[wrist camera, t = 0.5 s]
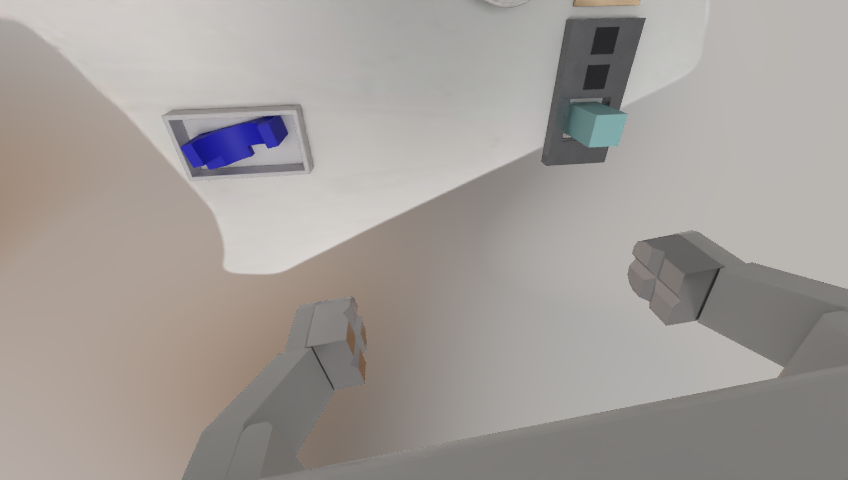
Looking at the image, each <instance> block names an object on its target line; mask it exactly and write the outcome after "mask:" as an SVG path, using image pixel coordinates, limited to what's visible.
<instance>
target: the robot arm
mask: <svg viewBox="0 0 848 480" xmlns="http://www.w3.org/2000/svg"><path fill="white" fill-rule="evenodd" d="M632 254H633V255H634V256H635V258H636V259H635V260H634V261H633V262H632V263H631V264H630V266H629V270H628V279H629V283H630V285H631V287H632V289H633V291H634V292H635V293H636V294H637V295H638V296H639V297H641V298H643V299H645V300H648V301H650V307H649V308H650V309H651V310H652V311H653V312H654V313H655V314H656V315H657V316H658V317H659V318H660V320H661V321H662V322H663V323H664V324H665V325H673V324H679V323H684V322H691V321H696V320H698V322H699V323H700V324H702V325H704V326H706V327H708V328H710V329H712V330H714V331H716V332H718V333H720V334H721V335H723V336H725V337H727V338H729V339H731V340H733V341H735V342H737V343H739V344H741V345H742V346H744V347H746V348H748V349H750V350H752V351H754V352H756V353H758V354H760V355H762V356H763V357H766V358H767V359H769V360H771V361H773V362H775V363H777V364H779V365H781V366H783V367H785V368H784V369H783V370H782V372H781V373H780V375H779V376H778V377H777V378H775V379H770V380H764V381H759V382H754V383H749V384H744V385H739V386H733V387H728V388H723V389H718V390H713V391H708V392H703V393H698V394H693V395H687V396H682V397H678V398H672V399H667V400H662V401H657V402H652V403H647V404H641V405H637V406H632V407H626V408H621V409H616V410H611V411H606V412H600V413H595V414H590V415H585V416H580V417H575V418H570V419H565V420H560V421H555V422H549V423H544V424H539V425H534V426H530V427H524V428H519V429H514V430H509V431H504V432H498V433H493V434H488V435H483V436H478V437H473V438H468V439H463V440H457V441H452V442H447V443H442V444H437V445H432V446H427V447H422V448H416V449H411V450H406V451H401V452H396V453H391V454H386V455H381V456H375V457H370V458H365V459H361V460H355V461H350V462H345V463H340V464H334V465H330V466H325V467H319V468H314V469H309V470H306V469H305V467H304V466H303V465H302V463H301V462H300V461H299V460H298V458H297V457H296V455H297V453H298V452H299V450H300V448H301V447H302V445H303V443H304V442H305V440H306V438H307V437H308V435H309V433H310V432H311V430H312V428H313V427H314V425H315V424H316V422H317V420H318V419H319V417H320V415H321V414H322V412H323V411H324V409H325V407H326V406H327V404H328V402H329V401H330V399H331V397H332V396H333V394H334V391H335V390H339V389H344V388H348V387H353V386H357V385H362V384H365V371H366V370H365V369H366V362H365V359H364V356H363V353H364V352H365V350H366V344H367V340H366V330H365V326H364V322H363V320H362V317H361V316H359V315H357V308H358V306H357V303H356V301H355V298H354V297H352V296H350V297H344V298H338V299H332V300H326V301H320V302H317V303H310V304H305V305H300V306H299V307H298V308H297V310H296V314H295V317H294V320H293V324H292V327H291V331H290V334H289V338H288V341H287V345H286V348H285V352H284V353H279V354H278V355H277V356H276V357H275V358H274V359H273V360H272V361H271V362H270V363H269V364H268V365H267V366H266V367H265V368H264V369H263V370H262V371H261V372H260V373H259V374H258V375H257V376H256V378H255V379H254V380H253V381H252V382H251V383H250V384H249V385H248V386H247V387H246V388H245V389H244V390H243V391H242V392H241V393H240V394H239V395H238V396H237V397H236V398H235V399H234V400H233V401H232V402H231V403H230V404H229V405H228V406H227V407H226V408H225V409H224V411H222V413H220V415H219V416H218V417H217V418H216V419H215V420H214V421H213V422H212V423H211V424H210V425H209V426H208V427H207V428H206V429H205V430H204V431H203V432H202V434H201V436H200V438H199V441H198V443H197V445H196V448H195V450H194V452H193V454H192V457H191V459H190V461H189V464H188V466H187V468H186V471H185V473H184V475H183V478H182V480H848V289H845V288H841V287H838V286H834V285H831V284H827V283H824V282H820V281H816V280H813V279H809V278H806V277H802V276H798V275H795V274H791V273H788V272H784V271H781V270H777V269H774V268H770V267H766V266H763V265H759V264H756V263H747V264H746V263H745V262H743V261H742V260H740V259H739V258H737V257H736V256H734V255H733V254H731V253H730V252H728V251H727V250H725V249H724V248H722V247H721V246H719V245H717V244H716V243H714V242H713V241H711V240H710V239H708V238H707V237H705V236H704V235H702V234H701V233H699V232H696V231H692V230H691V231H687V232H682V233H677V234H673V235H669V236H664V237H658V238H653V239H648V240H643V241H638V242H637V243H636V245H635V246H634V249H633V253H632Z"/></svg>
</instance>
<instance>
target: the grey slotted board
mask: <svg viewBox="0 0 848 480" xmlns="http://www.w3.org/2000/svg"><path fill="white" fill-rule="evenodd" d="M645 19H646V18H619V19H579V20H567V21H566V27H565V32H564V38H563V44H562V49H561V55H560V60H559V66H558V71H557V77H556V82H555V88H554V94H553V99H552V105H551V110H550V116H549V121H548V127H547V132H546V138H545V144H544V149H543V155H542V160H541V161H542V162H543V163H544V164H545V165H546V166H550V165H566V164H582V163H599V162H604V161H605V157H606V154H607V151H608V147H609V146H607V147H590V148H589V147H587V146H585V145H584V144H582V143H580V142H579V141H577V140H576V139H574V138H572V137H571V138H562V137H563V133H564V128H565V123H566V118H567V113H568V108H569V104H570V99H581V98H603V101H602V104H603V105H606V106H609V107H611V108H614V109H616V110H619V109H620V106H621V102H622V99H623V95H624V92H625V88H626V85H627V81H628V78H629V74H630V71H631V67H632V64H633V60H634V57H635V53H636V50H637V46H638V43H639V39H640V36H641V33H642V29H643V26H644V22H645Z"/></svg>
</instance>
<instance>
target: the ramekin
mask: <svg viewBox="0 0 848 480" xmlns="http://www.w3.org/2000/svg"><path fill="white" fill-rule="evenodd" d="M484 1H485V2H487V3H489V4H491V5H494V6H497V7H503V8H510V7H515V6H519V5H521V4H524V3H526V2H528V1H530V0H484Z"/></svg>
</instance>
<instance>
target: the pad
mask: <svg viewBox="0 0 848 480" xmlns="http://www.w3.org/2000/svg"><path fill="white" fill-rule="evenodd" d="M639 4H640V0H574V2H573V6H610V5H639Z"/></svg>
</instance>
